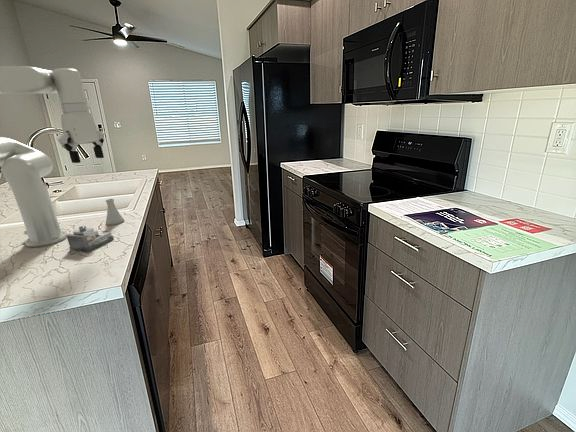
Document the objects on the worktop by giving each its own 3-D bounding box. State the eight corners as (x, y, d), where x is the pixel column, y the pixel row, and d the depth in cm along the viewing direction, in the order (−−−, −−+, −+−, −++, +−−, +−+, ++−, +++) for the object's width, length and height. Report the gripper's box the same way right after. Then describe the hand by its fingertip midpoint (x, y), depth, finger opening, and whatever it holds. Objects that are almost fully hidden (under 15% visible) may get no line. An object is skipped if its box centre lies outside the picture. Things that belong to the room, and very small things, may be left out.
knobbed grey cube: (86, 240, 111) (82, 224, 108) (101, 241, 109) (96, 225, 107) (76, 245, 107) (71, 228, 105) (91, 246, 105) (86, 229, 103)
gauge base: (96, 237, 116) (93, 223, 115) (113, 239, 114) (110, 225, 112) (70, 250, 107) (65, 235, 105) (88, 252, 104) (83, 237, 102)
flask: (102, 222, 132) (97, 200, 128) (120, 218, 136) (115, 196, 133) (109, 226, 127) (103, 203, 123) (127, 221, 132) (122, 199, 128)
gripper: (88, 108, 113) (100, 156, 119) (41, 110, 98) (57, 164, 103) (105, 108, 111) (116, 156, 117) (59, 109, 95) (74, 165, 101)
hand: (88, 160), depth 110 cm, fingers open, 9 cm apart
